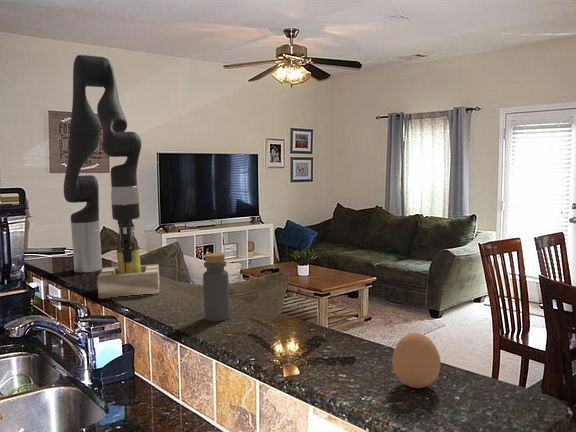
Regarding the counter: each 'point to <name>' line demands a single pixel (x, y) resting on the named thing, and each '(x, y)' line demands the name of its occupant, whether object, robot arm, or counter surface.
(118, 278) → the dock block
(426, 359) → the egg
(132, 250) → the sauce bottle
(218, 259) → the bottle
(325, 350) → the counter surface
